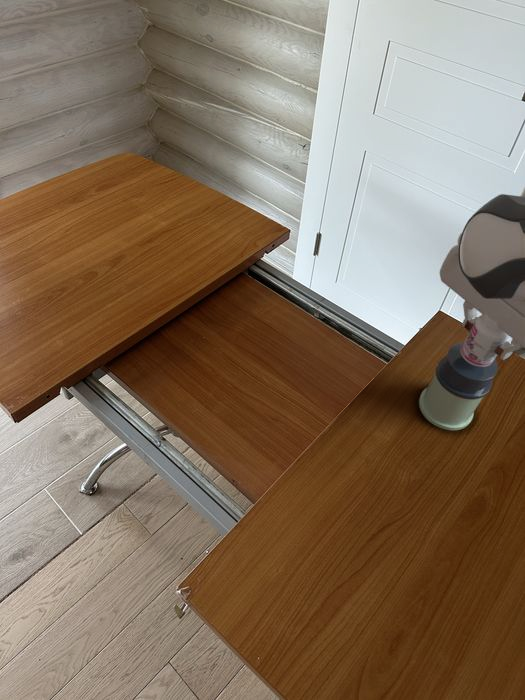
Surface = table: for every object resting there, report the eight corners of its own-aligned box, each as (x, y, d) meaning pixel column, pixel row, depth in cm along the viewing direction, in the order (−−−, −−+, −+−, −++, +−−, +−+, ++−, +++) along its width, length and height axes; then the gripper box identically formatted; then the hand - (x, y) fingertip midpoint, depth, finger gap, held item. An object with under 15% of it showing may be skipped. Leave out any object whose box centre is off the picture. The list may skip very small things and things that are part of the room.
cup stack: (483, 416, 85) (515, 369, 76) (445, 439, 81) (474, 393, 72) (444, 379, 90) (470, 331, 81) (407, 399, 86) (430, 351, 77)
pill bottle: (453, 348, 76) (474, 306, 70) (478, 340, 78) (501, 298, 71) (473, 371, 73) (498, 330, 67) (499, 363, 75) (525, 321, 68)
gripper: (620, 306, 59) (559, 382, 69) (483, 214, 70) (448, 292, 80) (588, 325, 56) (529, 401, 66) (450, 226, 67) (419, 305, 77)
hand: (484, 340), depth 73 cm, fingers closed on pill bottle, 5 cm apart
